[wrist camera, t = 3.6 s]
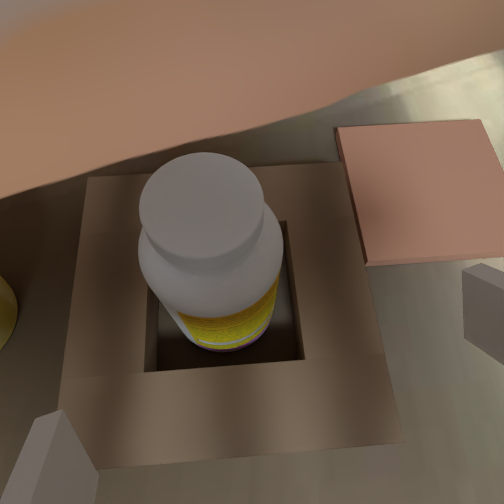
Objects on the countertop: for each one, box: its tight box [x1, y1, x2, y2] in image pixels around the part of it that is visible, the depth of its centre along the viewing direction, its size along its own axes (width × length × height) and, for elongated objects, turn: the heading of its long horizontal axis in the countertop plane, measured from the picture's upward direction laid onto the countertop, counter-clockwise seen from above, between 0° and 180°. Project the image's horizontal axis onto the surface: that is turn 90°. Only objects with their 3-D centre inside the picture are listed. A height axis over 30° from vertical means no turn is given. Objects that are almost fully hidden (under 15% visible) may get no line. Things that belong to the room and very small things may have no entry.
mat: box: [335, 119, 504, 267], centre depth 29 cm, size 12×12×1 cm
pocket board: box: [57, 162, 404, 470], centre depth 24 cm, size 18×18×3 cm
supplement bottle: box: [138, 152, 283, 352], centre depth 20 cm, size 7×7×13 cm
